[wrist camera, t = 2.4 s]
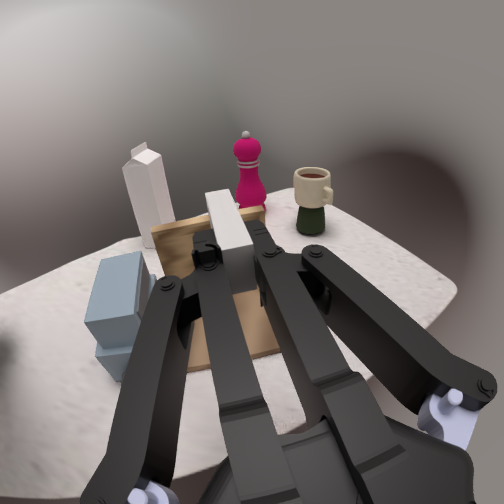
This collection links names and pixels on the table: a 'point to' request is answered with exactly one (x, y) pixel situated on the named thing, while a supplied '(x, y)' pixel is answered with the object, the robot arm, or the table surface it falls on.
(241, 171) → the pepper mill
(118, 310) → the cab
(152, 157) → the milk
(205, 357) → the flatbed
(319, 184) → the character mug
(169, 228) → the side gate
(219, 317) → the robot arm
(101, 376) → the table surface
